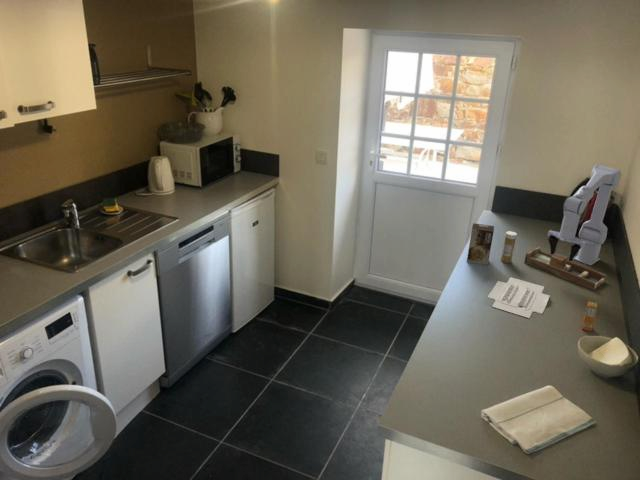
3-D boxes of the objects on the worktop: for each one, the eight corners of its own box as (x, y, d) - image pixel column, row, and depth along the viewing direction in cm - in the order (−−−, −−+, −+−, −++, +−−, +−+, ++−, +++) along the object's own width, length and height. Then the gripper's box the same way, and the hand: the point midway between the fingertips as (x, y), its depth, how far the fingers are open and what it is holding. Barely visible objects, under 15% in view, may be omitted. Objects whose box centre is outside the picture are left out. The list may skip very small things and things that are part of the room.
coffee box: (488, 259, 235) (495, 225, 229) (487, 265, 230) (494, 231, 223) (467, 255, 238) (473, 222, 231) (466, 261, 232) (472, 227, 226)
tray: (482, 306, 201) (484, 297, 199) (500, 279, 223) (502, 271, 222) (538, 323, 191) (541, 314, 190) (552, 293, 214) (554, 285, 212)
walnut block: (554, 261, 232) (556, 253, 230) (565, 265, 228) (567, 257, 226) (549, 264, 228) (551, 256, 227) (560, 269, 225) (562, 260, 223)
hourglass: (581, 324, 190) (588, 300, 186) (591, 327, 189) (598, 303, 185) (580, 329, 188) (587, 305, 183) (591, 332, 186) (598, 307, 182)
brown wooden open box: (536, 255, 241) (538, 246, 239) (604, 281, 220) (607, 272, 219) (524, 262, 234) (526, 253, 232) (592, 290, 214) (595, 280, 212)
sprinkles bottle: (513, 261, 234) (519, 233, 229) (506, 264, 232) (512, 236, 226) (505, 257, 238) (510, 230, 232) (498, 259, 235) (503, 232, 230)
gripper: (547, 223, 214) (540, 253, 219) (583, 235, 204) (574, 266, 210) (555, 219, 218) (548, 248, 224) (591, 230, 208) (582, 261, 214)
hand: (561, 257), depth 217 cm, fingers open, 7 cm apart
